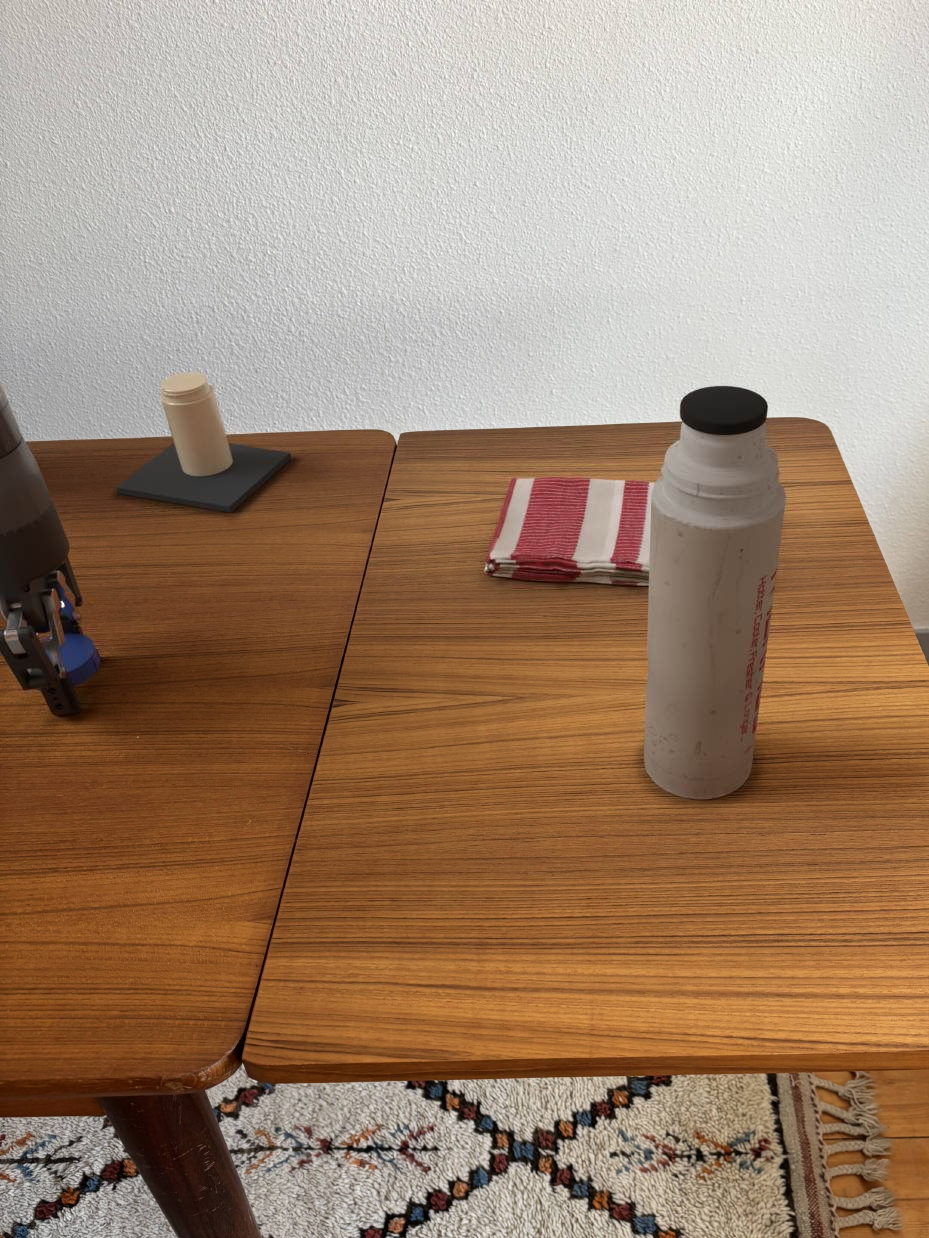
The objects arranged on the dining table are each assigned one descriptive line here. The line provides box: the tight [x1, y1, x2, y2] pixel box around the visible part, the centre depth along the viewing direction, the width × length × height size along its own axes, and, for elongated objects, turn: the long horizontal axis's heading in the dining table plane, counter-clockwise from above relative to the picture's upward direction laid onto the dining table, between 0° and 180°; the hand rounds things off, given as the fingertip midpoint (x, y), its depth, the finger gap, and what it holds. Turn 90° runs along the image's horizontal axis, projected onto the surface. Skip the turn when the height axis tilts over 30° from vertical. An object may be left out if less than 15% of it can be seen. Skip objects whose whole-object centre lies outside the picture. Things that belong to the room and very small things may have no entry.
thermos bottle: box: [643, 385, 787, 800], centre depth 68 cm, size 8×8×28 cm
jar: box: [159, 371, 233, 476], centre depth 110 cm, size 5×5×9 cm
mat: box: [115, 442, 292, 514], centre depth 112 cm, size 14×12×1 cm
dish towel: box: [483, 476, 656, 587], centre depth 100 cm, size 17×23×3 cm
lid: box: [35, 633, 102, 692], centre depth 85 cm, size 6×6×2 cm
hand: (74, 687), depth 86 cm, fingers closed on lid, 5 cm apart
